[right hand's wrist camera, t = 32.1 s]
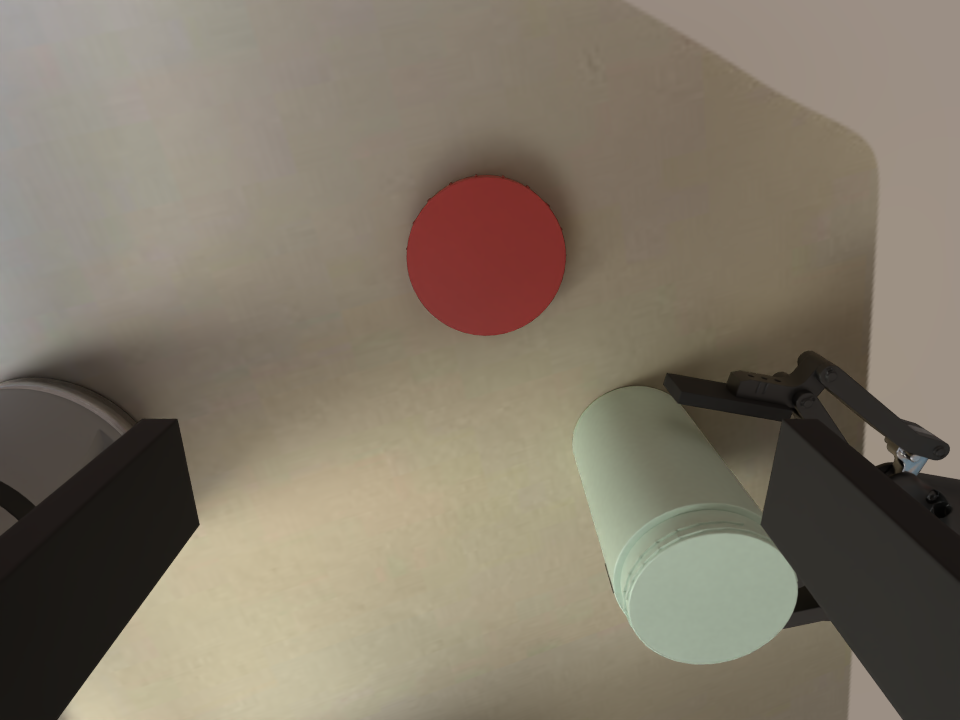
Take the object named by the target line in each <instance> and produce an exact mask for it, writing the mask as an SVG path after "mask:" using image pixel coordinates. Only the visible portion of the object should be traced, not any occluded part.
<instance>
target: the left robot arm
mask: <svg viewBox="0 0 960 720" xmlns="http://www.w3.org/2000/svg"><path fill="white" fill-rule="evenodd" d="M797 362H798V367H797V368H796V369H795V370H794V371H793V372H792V373H791V374H790V375H788V374H787V373H785V372H778V373H776V374H774V375H773V376H768V375H763V374H756V373H750V372H746V371H735V372H731V373H730V376H729V379H728V381H727V383H721V382H715V381H710V380H704V379H698V378H693V377H687V376H681V375H676V374H670V373H667V374H666V377H665V380H664V383H663V385H664V386H665V387H666V389H667V390H668V391H669V393H670V394H671V396H672V397H673V398H674V400H675V401H676V402H677V404H683V405H689V406H695V407H701V408H706V409H712V410H718V411H724V412H729V413H735V414H741V415H747V416H753V417H758V418H764V419H770V420H776V421H782V419H790V417H791V415H792V414H793V415H794V417H795V418H796V419H818V420H820V421H821V422H822V423H823V424H825V425H826V426H827V427H828V428H829V429H831V430H832V431H833V432H834V433H835V434H837V435H838V436H839V437H840V438H842V439H843V440H844V441H845V442H846V443H847V441H846V440H845V438H844V437H843V435H842V434H841V432H840V431H839V429H838V428H837V426H836V425H835V423H834V422H833V420H832V419H831V417H830V416H829V414H828V413H827V411H826V410H825V408H824V407H823V405H822V404H821V402H820V401H819V399H818V398H817V396H818V395H819V394H820V393H821V392H822V391H823V389H824V388H825V389H826V390H828V391H829V392H830V393H831V394H832V395H834V396H835V397H836V398H837V399H839V400H840V401H841V402H842V403H843V404H845V405H846V406H847V407H848V408H849V409H851V410H852V411H853V412H854V413H856V414H857V415H858V416H859V417H860V418H862V419H863V420H864V421H865V422H866V423H868V424H869V425H870V426H871V427H873V428H874V429H876V430H877V431H878V432H880V433H881V434H882V435H884V436H885V442H886V443H887V449H888V451H890V452H891V453H892V454H893V455H894V457H895V459H894V462H888V463H883V464H880V465H878V466H876V467H877V468H878V469H879V470H880V471H882V472H883V473H884V474H885V475H886V476H888V477H889V478H890V479H891V480H893V481H894V482H895V483H896V484H897V485H899V486H900V487H901V488H902V489H903V490H905V491H906V492H907V493H908V494H910V495H911V496H912V497H913V498H914V499H916V500H917V501H918V502H919V503H921V504H922V505H923V506H924V507H925V508H927V509H928V510H929V511H930V512H931V513H933V514H934V515H935V516H936V517H938V518H939V519H940V520H941V521H942V522H944V523H945V524H946V525H947V526H948V527H950V528H951V529H952V530H953V531H955V532H956V533H957V534H958V535H959V536H960V480H958V479H953V478H947V477H941V476H935V475H929V474H924V473H919V472H920V470H921V469H922V467H923V466H924V464H925V463H926V462H927V460H928V459H932V460H941V459H943V458H944V457H946V456H947V455H948V453H949V451H950V447H949V445H948V444H947V443H945V442H944V441H942V440H941V439H939V438H938V437H936V436H935V435H933V434H932V433H930V432H929V431H927V430H925V429H924V428H922V427H921V426H919V425H917V424H916V423H913V422H909V421H906V420H903V419H900V418H899V417H897V416H896V415H895V414H894V413H893V412H891V411H890V410H889V409H888V408H887V407H885V406H884V405H883V404H882V403H881V402H880V401H878V400H877V399H876V398H875V397H874V396H872V395H871V394H870V393H869V392H868V391H867V390H865V389H864V388H863V387H862V386H861V385H859V384H858V383H857V382H856V381H855V380H853V379H852V378H851V377H850V376H849V375H847V374H846V373H845V372H844V371H843V370H842V369H840V368H839V367H837V366H836V365H834V364H833V363H831V362H830V361H828V360H826V359H825V358H823V357H822V356H820V355H819V354H817V353H815V352H813V351H806V352H804V353H802V354H801V355H800V356H799V358H798V361H797ZM605 566H606V563H605ZM606 570H607V566H606ZM607 573H608V570H607ZM796 575H797V574H796ZM608 577H609V573H608ZM797 579H798V581H797V583H798V596H797V601H796V605H795V608H794V611H793V613H792V615H791V617H790V619H789V620H788V622H787V623H786V625H785V626H784V628H783V629H785V628H790V627H795V626H800V625H804V624H809V623H814V622H819V621H830V619H829V618H828V617H827V615H826V614H825V612H824V611H823V610H822V608H821V607H820V606H819V604H818V603H817V601H816V600H815V599H814V597H813V596H812V595H811V593H810V592H809V591H808V589H807V588H806V586H805V585H804V584H803V582H802V581H801V580H800V578H799V577H798V575H797ZM609 580H610V577H609ZM610 583H611V580H610ZM611 587H612V583H611ZM612 590H613V587H612ZM613 593H614V590H613Z"/></svg>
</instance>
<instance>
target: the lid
mask: <svg viewBox="0 0 960 720" xmlns="http://www.w3.org/2000/svg"><path fill="white" fill-rule="evenodd" d="M529 188H530V187H529V186H527V185H526V186H524V185H523V184H521V183H519V182H517V181H514V180H511V179H509V178H505V177H504V176H503V175H502V177H501V176H493V175H478V176H477V174H475V176H472V177H467V178H464V179H461V180H458V181H456V182H454V183H452V182H450V184H449V185H448V186H446V187H445V188H443V189H442V190H440V191H439V192H438V193H437V194H436V195H435V196H434V197H432V198H430V199H429V200H428V203H427V204H426V205H425V207H424V208H423V209H422V210H421V212H420V214H419V215H418V217H417V218H416V220H415V221H414V222H413V224H414V225H413V227H412V229H411V233H410V236H409V240H408V246H407V248H406V250H407V267H408V273H409V277H410V281H411V283H412V286H413V289H414V291H415V292H416V294H417V296H418V298H419V299H420V301H421V302H422V304H423V305H424V306H425V308H426V309H427V310H428V311H429V312H430V313H431V314H432V315H433V316H435V317H436V318H437V319H438V320H439V321H441V322H443V323H444V324H446V325H447V326H449V327H451V328H453V329H455V330H458V331H461V332H464V333H468V334H473V335H484V336H487V335H498V334H504V333H508V332H511V331H514V330H516V329H519V328H521V327H523V326H525V325H526V324H528V323H530V322H531V321H533V320H534V319H535V318H536V317H538V316H539V315H540V314H541V313H542V312H543V311H544V310H545V309H546V308H547V307H548V305H549V304H550V303H551V301H552V300H553V298H554V297H555V295H556V293H557V291H558V289H559V287H560V284H561V282H562V278H563V274H564V270H565V262H566V250H565V242H564V237H563V234H562V228H561V227H560V225H559V223H558V221H557V219H556V217H555V215H554V214H553V212H552V211H551V209H550V208H549V207H550V206H549V205H548V204H547V203H545V202H544V201H543V200H542V199H541V198H540V197H539V196H538V195H537V194H536V193H535V192H533V191H532V190H530V189H529Z"/></svg>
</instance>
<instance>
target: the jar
mask: <svg viewBox="0 0 960 720" xmlns="http://www.w3.org/2000/svg"><path fill="white" fill-rule="evenodd" d="M572 447H573V454H574V457H575V460H576V464H577V467H578V471H579V474H580V478H581V481H582V484H583V488H584V491H585V495H586V498H587V501H588V505H589V508H590V512H591V515H592V519H593V522H594V525H595V529H596V532H597V536H598V539H599V542H600V546H601V549H602V553H603V556H604V559H605V563H606V566H607V570H608V573H609V577H610V580H611V583H612V587H613V590H614V594H615V597H616V600H617V602H618V604H619V606H620V608H621V609H622V611H623V612H624V613H625V615H626V616H627V619H628V621H629V624H630V626H631V627H632V629H633V630H634V631H635V633H636V634H637V636H638V637H639V639H640V640H641V641H642V642H643V643H644V644H645V645H646V646H647V647H649V648H650V649H651V650H653V651H654V652H656V653H657V654H659V655H661V656H663V657H666V658H668V659H670V660H674V661H678V662H682V663H688V664H715V663H722V662H726V661H731V660H734V659H737V658H740V657H743V656H745V655H747V654H750V653H752V652H754V651H755V650H757V649H759V648H761V647H762V646H764V645H765V644H766V643H768V642H769V641H770V640H772V639H773V638H774V637H775V636H776V635H777V634H778V633H779V632H780V631H781V630H782V629H783V628H784V626H785V625H786V623H787V622H788V620H789V619H790V617H791V615H792V613H793V611H794V608H795V605H796V601H797V596H798V583H797V581H798V579H797V575H796V573H795V571H794V570H793V569H792V567H791V566H790V565H789V563H788V562H787V560H786V559H785V558H784V556H783V555H782V554H781V552H780V551H779V549H778V548H777V547H776V545H775V544H774V543H773V541H772V540H771V539H770V537H769V536H768V534H767V533H766V532H765V530H764V529H763V528H762V526H761V525H760V524H761V520H762V515H763V512H762V511H761V510H760V509H759V507H758V506H757V505H756V503H755V502H754V501H753V499H752V498H751V497H750V495H749V494H748V493H747V491H746V490H745V489H744V487H743V486H742V485H741V483H740V482H739V481H738V479H737V478H736V477H735V475H734V474H733V473H732V471H731V470H730V469H729V467H728V466H727V465H726V463H725V462H724V461H723V460H722V458H721V457H720V456H719V454H718V453H717V452H716V450H715V449H714V448H713V446H712V445H711V444H710V442H709V441H708V440H707V438H706V437H705V436H704V434H703V433H702V432H701V430H700V429H699V428H698V426H697V425H696V424H695V422H694V421H693V420H692V418H691V417H690V416H689V414H688V413H687V412H686V411H685V409H684V408H683V407H682V405H681V404H677V402H676V401H675V400H674V398H673V397H672V396H670V395H669V394H667V393H665V392H663V391H661V390H658V389H655V388H651V387H645V386H629V387H623V388H619V389H616V390H613V391H611V392H608V393H606V394H604V395H603V396H601V397H599V398H598V399H596V400H595V401H594V402H593V403H592V404H590V405H589V406H588V407H587V409H586V410H585V411H584V412H583V413H582V415H581V417H580V418H579V420H578V422H577V424H576V426H575V430H574V433H573V439H572Z"/></svg>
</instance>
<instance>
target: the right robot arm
mask: <svg viewBox="0 0 960 720" xmlns="http://www.w3.org/2000/svg"><path fill="white" fill-rule="evenodd" d="M199 525H200V524H199V520H198V515H197V510H196V505H195V500H194V496H193V491H192V486H191V481H190V476H189V472H188V467H187V462H186V457H185V452H184V448H183V443H182V438H181V433H180V428H179V424H178V419H142V420H140V421H139V422H138V423H136V422H135V421H134V420H133V419H132V418H131V417H130V416H129V415H128V414H127V413H126V412H125V411H123V410H122V409H121V408H119V407H118V406H117V405H115V404H114V403H112V402H111V401H109V400H108V399H106V398H104V397H103V396H101V395H99V394H97V393H95V392H93V391H91V390H89V389H86V388H84V387H81V386H78V385H76V384H72V383H69V382H65V381H61V380H56V379H49V378H32V377H31V378H19V379H13V380H8V381H5V382H1V383H0V720H57V719H58V718H59V716H60V715H61V714H62V712H63V711H64V710H65V708H66V707H67V706H68V704H69V703H70V701H71V700H72V699H73V697H74V696H75V695H76V693H77V692H78V690H79V689H80V688H81V686H82V685H83V684H84V682H85V681H86V679H87V678H88V677H89V675H90V674H91V673H92V671H93V670H94V669H95V667H96V666H97V664H98V663H99V662H100V660H101V659H102V658H103V656H104V655H105V653H106V652H107V651H108V649H109V648H110V647H111V645H112V644H113V643H114V641H115V640H116V638H117V637H118V636H119V634H120V633H121V632H122V630H123V629H124V627H125V626H126V625H127V623H128V622H129V621H130V619H131V618H132V617H133V615H134V614H135V612H136V611H137V610H138V608H139V607H140V606H141V604H142V603H143V601H144V600H145V599H146V597H147V596H148V595H149V593H150V592H151V591H152V589H153V588H154V586H155V585H156V584H157V582H158V581H159V580H160V578H161V577H162V575H163V574H164V573H165V571H166V570H167V569H168V567H169V566H170V565H171V563H172V562H173V560H174V559H175V558H176V556H177V555H178V554H179V552H180V551H181V549H182V548H183V547H184V545H185V544H186V543H187V541H188V540H189V539H190V537H191V536H192V534H193V533H194V532H195V530H196V529H197V528H198V526H199ZM760 525H761V526H762V528H763V529H764V530H765V532H766V533H767V534H768V536H769V537H770V539H771V540H772V541H773V543H774V544H775V545H776V547H777V548H778V549H779V551H780V552H781V554H782V555H783V556H784V558H785V559H786V560H787V562H788V563H789V565H790V566H791V567H792V569H793V570H794V571H795V573H796V574H797V575H798V577H799V578H800V580H801V581H802V582H803V584H804V585H805V586H806V588H807V589H808V591H809V592H810V593H811V595H812V596H813V597H814V599H815V600H816V601H817V603H818V604H819V606H820V607H821V608H822V610H823V611H824V612H825V614H826V615H827V617H828V618H829V619H830V621H831V622H832V623H833V625H834V626H835V627H836V629H837V630H838V632H839V633H840V634H841V636H842V637H843V638H844V640H845V641H846V643H847V644H848V645H849V647H850V648H851V649H852V651H853V652H854V653H855V655H856V656H857V658H858V659H859V660H860V662H861V663H862V664H863V666H864V667H865V668H866V670H867V671H868V673H869V674H870V675H871V677H872V678H873V679H874V681H875V682H876V684H877V685H878V686H879V688H880V689H881V690H882V692H883V693H884V694H885V696H886V697H887V699H888V700H889V701H890V703H891V704H892V706H893V707H894V708H895V710H896V711H897V712H898V714H899V715H900V716H901V718H902V719H903V720H960V536H959V535H958V534H957V533H956V532H955V531H953V530H952V529H951V528H950V527H948V526H947V525H946V524H945V523H944V522H942V521H941V520H940V519H939V518H938V517H936V516H935V515H934V514H933V513H931V512H930V511H929V510H928V509H927V508H925V507H924V506H923V505H922V504H921V503H919V502H918V501H917V500H916V499H914V498H913V497H912V496H911V495H910V494H908V493H907V492H906V491H905V490H903V489H902V488H901V487H900V486H899V485H897V484H896V483H895V482H894V481H893V480H891V479H890V478H889V477H888V476H886V475H885V474H884V473H883V472H882V471H880V470H879V469H878V468H877V467H876V466H874V465H873V464H872V463H871V462H869V461H868V460H867V459H866V458H865V457H863V456H862V455H861V454H860V453H859V452H857V451H856V450H855V449H854V448H852V447H851V446H850V445H849V444H848V443H846V442H845V441H844V440H843V439H842V438H840V437H839V436H838V435H837V434H835V433H834V432H833V431H832V430H831V429H829V428H828V427H827V426H826V425H825V424H823V423H822V422H821V421H820V420H818V419H782V424H781V428H780V433H779V438H778V443H777V448H776V452H775V457H774V462H773V467H772V472H771V476H770V481H769V486H768V491H767V496H766V500H765V505H764V510H763V515H762V520H761V524H760Z"/></svg>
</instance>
